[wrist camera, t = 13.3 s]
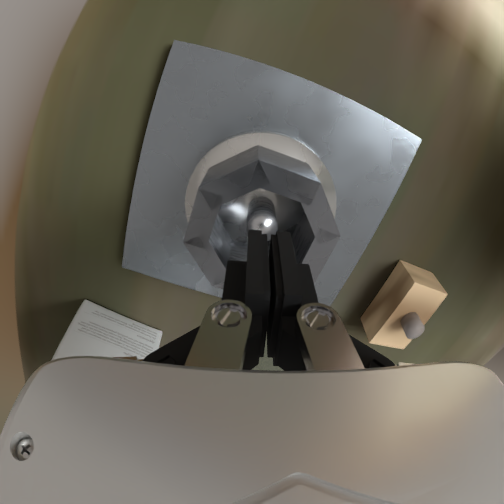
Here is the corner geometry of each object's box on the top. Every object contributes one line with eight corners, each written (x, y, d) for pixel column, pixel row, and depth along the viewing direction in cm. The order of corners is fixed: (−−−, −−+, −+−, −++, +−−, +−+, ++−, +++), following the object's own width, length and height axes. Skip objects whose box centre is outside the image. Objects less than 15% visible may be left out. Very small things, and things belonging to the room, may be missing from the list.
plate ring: (292, 274, 20) (298, 310, 17) (186, 242, 19) (174, 274, 16) (341, 177, 16) (359, 199, 13) (220, 132, 15) (211, 144, 12)
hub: (316, 314, 25) (325, 355, 21) (126, 259, 22) (104, 296, 18) (414, 136, 17) (451, 153, 13) (178, 42, 14) (155, 30, 10)
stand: (393, 325, 26) (408, 361, 22) (360, 317, 25) (373, 355, 21) (432, 272, 22) (455, 305, 19) (399, 259, 22) (422, 294, 18)
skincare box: (80, 335, 27) (24, 462, 14) (85, 293, 24) (7, 442, 11) (152, 366, 29) (119, 503, 16) (168, 329, 26) (128, 496, 12)
